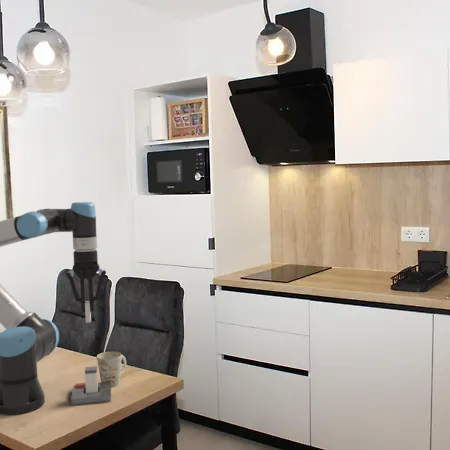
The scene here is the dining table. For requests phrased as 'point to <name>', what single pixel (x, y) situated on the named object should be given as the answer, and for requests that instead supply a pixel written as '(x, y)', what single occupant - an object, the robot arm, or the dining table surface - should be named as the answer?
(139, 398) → the dining table surface
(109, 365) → the mug
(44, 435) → the dining table surface
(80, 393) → the socket plate
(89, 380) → the plug
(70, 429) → the dining table surface
